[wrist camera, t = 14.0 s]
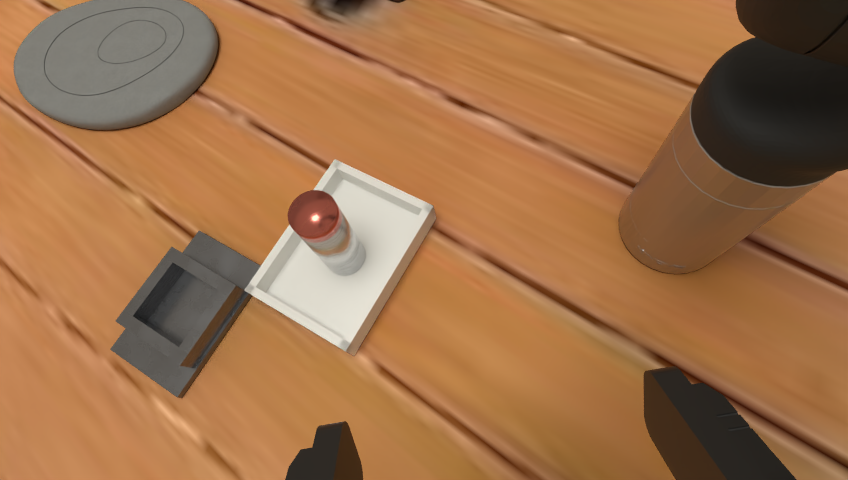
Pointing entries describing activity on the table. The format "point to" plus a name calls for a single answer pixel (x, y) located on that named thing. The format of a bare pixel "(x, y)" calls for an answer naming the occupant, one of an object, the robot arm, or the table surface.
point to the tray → (357, 293)
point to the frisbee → (115, 61)
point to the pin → (327, 232)
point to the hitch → (184, 312)
